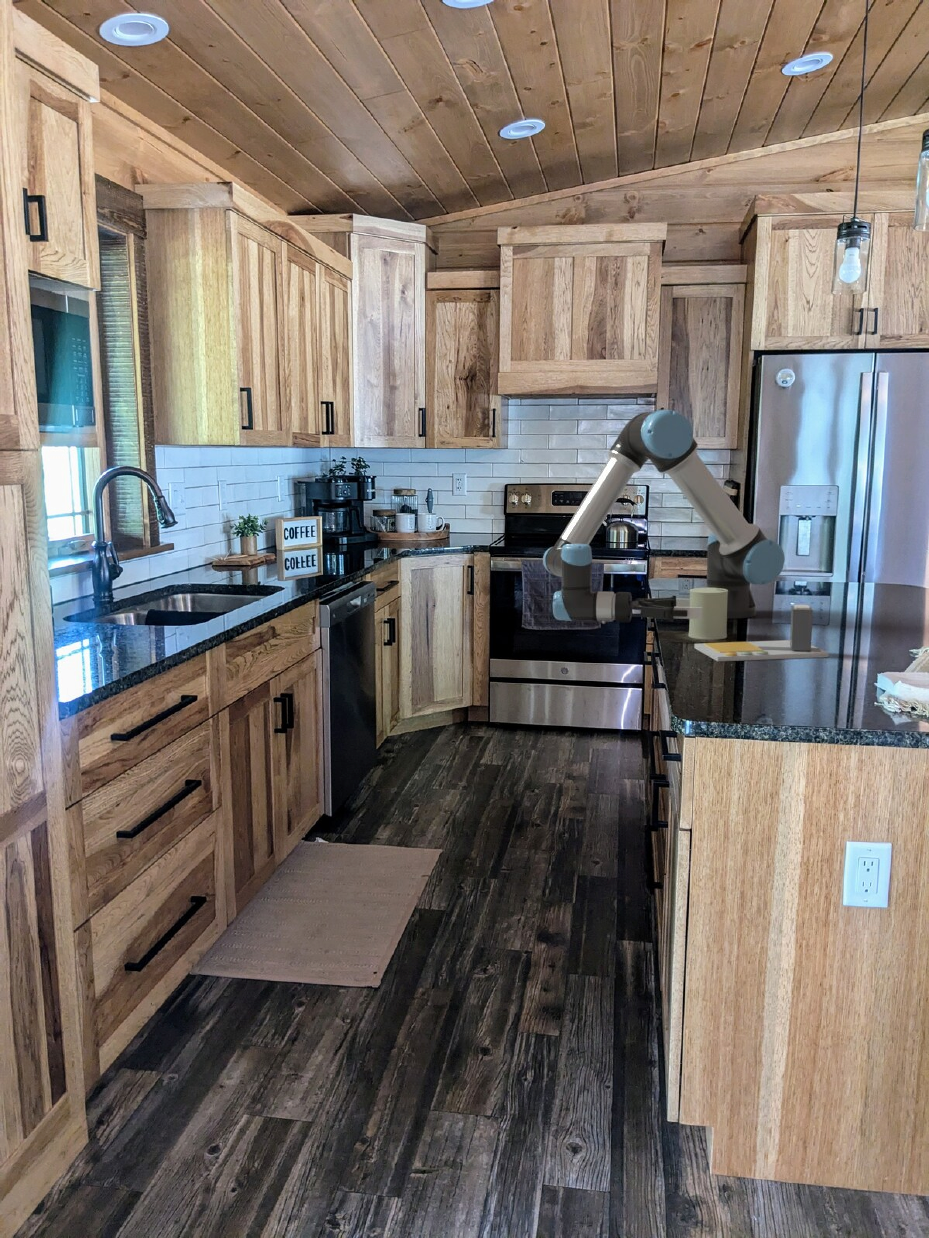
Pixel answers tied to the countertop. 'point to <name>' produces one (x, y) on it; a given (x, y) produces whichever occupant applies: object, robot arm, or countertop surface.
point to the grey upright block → (801, 627)
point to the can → (709, 613)
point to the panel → (756, 651)
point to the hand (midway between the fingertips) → (702, 608)
